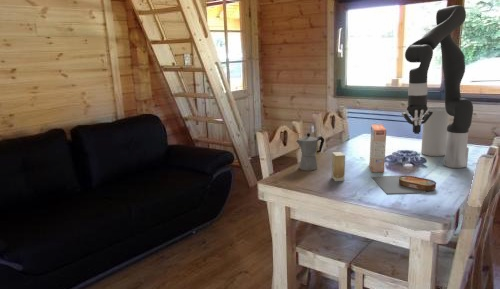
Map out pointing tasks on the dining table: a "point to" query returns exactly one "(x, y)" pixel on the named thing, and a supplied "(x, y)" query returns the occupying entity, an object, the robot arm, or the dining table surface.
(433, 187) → the tin
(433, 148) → the cylinder vase
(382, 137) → the cracker box
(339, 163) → the skincare box
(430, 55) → the robot arm
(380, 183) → the mat
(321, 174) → the dining table surface
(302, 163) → the coffeepot
